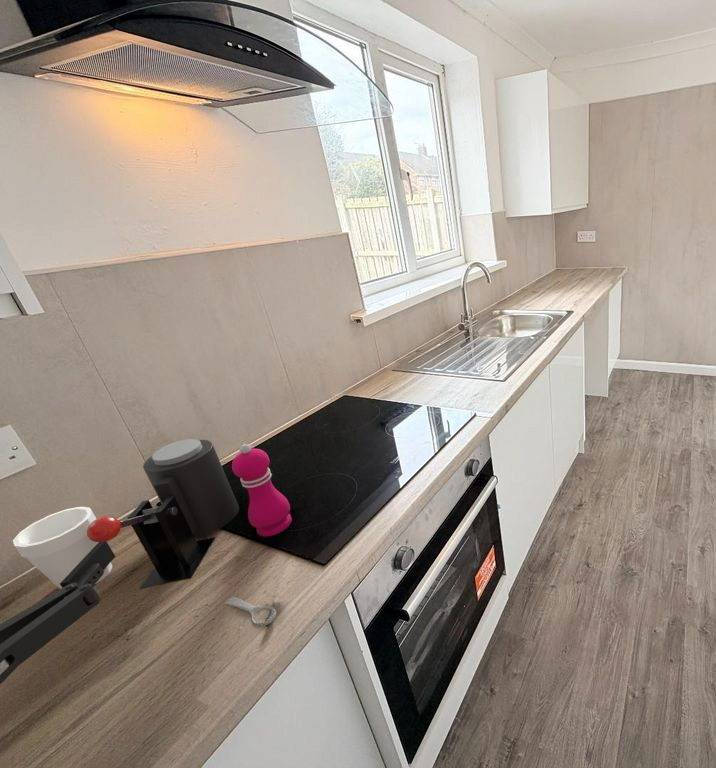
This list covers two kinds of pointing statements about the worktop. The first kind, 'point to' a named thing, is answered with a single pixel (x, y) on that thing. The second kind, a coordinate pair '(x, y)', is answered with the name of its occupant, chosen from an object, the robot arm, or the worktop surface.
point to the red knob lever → (117, 525)
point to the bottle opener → (251, 609)
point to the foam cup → (58, 543)
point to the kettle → (193, 484)
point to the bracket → (169, 543)
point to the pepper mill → (261, 492)
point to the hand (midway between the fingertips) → (45, 560)
